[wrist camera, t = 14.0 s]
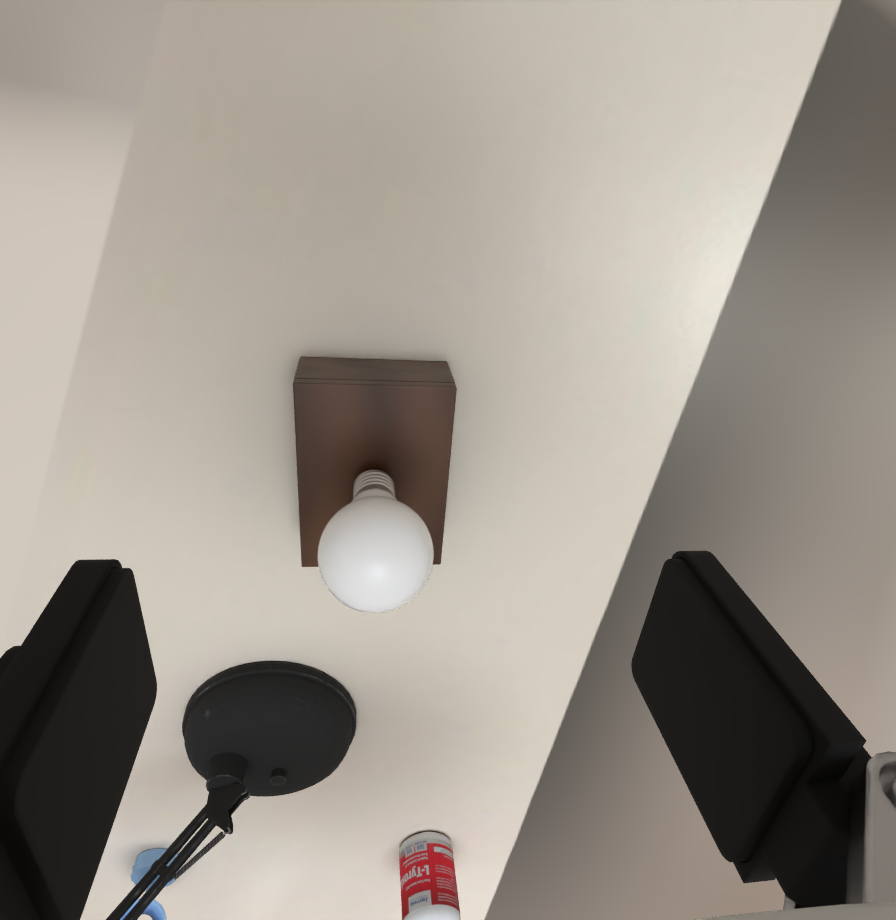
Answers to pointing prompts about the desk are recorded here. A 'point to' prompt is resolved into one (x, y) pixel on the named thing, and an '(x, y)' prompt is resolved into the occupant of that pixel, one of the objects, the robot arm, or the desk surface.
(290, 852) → the desk surface
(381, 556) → the lightbulb
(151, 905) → the spotlight
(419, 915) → the pill bottle
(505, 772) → the desk surface
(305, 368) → the brown wooden stand
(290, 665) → the desk lamp
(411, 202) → the desk surface
